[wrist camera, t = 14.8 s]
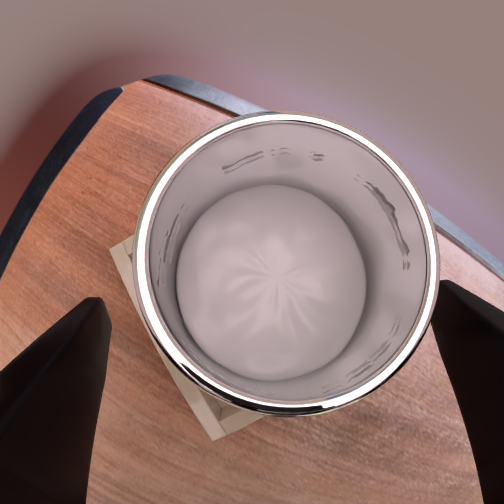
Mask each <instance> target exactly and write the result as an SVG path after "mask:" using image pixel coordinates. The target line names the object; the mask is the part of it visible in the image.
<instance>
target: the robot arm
mask: <svg viewBox="0 0 504 504" xmlns="http://www.w3.org/2000/svg"><path fill="white" fill-rule="evenodd" d="M430 322H431V325H432V329H433V332H434V335H435V338H436V342H437V345H438V348H439V352H440V355H441V357H442V360H443V363H444V365H445V368H446V371H447V373H448V376H449V379H450V382H451V384H452V387H453V390H454V393H455V396H456V399H457V402H458V405H459V408H460V411H461V414H462V417H463V420H464V424H465V427H466V430H467V434H468V437H469V441H470V444H471V448H472V452H473V456H474V460H475V464H476V468H477V471H478V477H479V482H480V487H481V492H482V497H483V502H484V504H504V312H503V311H501V310H500V309H498V308H496V307H495V306H493V305H491V304H490V303H488V302H486V301H485V300H483V299H481V298H480V297H478V296H476V295H474V294H473V293H471V292H469V291H468V290H466V289H464V288H462V287H461V286H459V285H457V284H455V283H454V282H452V281H450V280H440V282H439V290H438V296H437V301H436V305H435V309H434V312H433V315H432V318H431V321H430ZM111 330H112V325H111V320H110V317H109V314H108V312H107V309H106V306H105V303H104V301H103V300H102V298H100V297H88V298H86V299H84V300H83V301H82V302H81V303H79V304H78V305H77V306H76V307H74V308H73V309H72V310H71V311H70V312H68V313H67V314H66V315H65V316H63V317H62V318H61V319H60V320H59V321H57V322H56V323H55V324H54V325H53V326H52V327H50V328H49V329H48V330H47V331H46V332H44V333H43V334H42V335H41V336H40V337H39V338H37V339H36V340H35V341H34V342H33V343H32V344H30V345H29V346H28V347H27V348H26V349H25V350H24V351H22V352H21V353H20V354H19V355H18V356H17V357H16V358H15V359H13V360H12V361H11V362H10V363H9V364H8V365H7V366H6V367H5V368H3V369H2V370H1V371H0V504H86V496H87V487H88V478H89V470H90V462H91V455H92V448H93V442H94V436H95V430H96V424H97V419H98V413H99V408H100V403H101V398H102V393H103V388H104V383H105V377H106V370H107V361H108V352H109V344H110V337H111Z"/></svg>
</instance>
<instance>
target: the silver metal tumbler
mask: <svg viewBox="0 0 504 504" xmlns="http://www.w3.org/2000/svg"><path fill="white" fill-rule="evenodd" d="M132 271H133V280H134V287H135V291H136V296H137V300H138V303H139V307H140V310H141V313H142V315H143V318H144V320H145V322H146V325H147V327H148V329H149V331H150V333H151V335H152V336H153V338H154V340H155V341H156V343H157V345H158V346H159V348H160V349H161V350H162V352H163V353H164V354H165V356H166V357H167V358H168V360H169V361H170V362H171V363H172V364H173V365H174V366H175V367H176V369H177V370H178V371H179V372H180V373H182V374H183V375H184V376H185V377H186V378H187V379H188V380H189V381H191V382H192V383H193V384H194V385H196V386H197V387H198V388H200V389H201V390H203V391H204V392H206V393H207V394H209V395H211V396H212V397H214V398H216V399H218V400H220V401H222V402H224V403H226V404H228V405H231V406H233V407H236V408H239V409H242V410H245V411H248V412H252V413H256V414H261V415H266V416H274V417H307V416H314V415H320V414H325V413H329V412H333V411H336V410H339V409H342V408H344V407H347V406H349V405H352V404H354V403H356V402H358V401H360V400H362V399H364V398H366V397H367V396H369V395H371V394H372V393H374V392H375V391H377V390H378V389H379V388H381V387H382V386H383V385H385V384H386V383H387V382H388V381H389V380H391V379H392V378H393V377H394V376H395V375H396V374H397V373H398V372H399V371H400V370H401V369H402V367H403V366H404V365H405V364H406V363H407V362H408V360H409V359H410V358H411V356H412V355H413V354H414V352H415V351H416V349H417V348H418V346H419V344H420V342H421V341H422V339H423V337H424V335H425V333H426V331H427V328H428V326H429V324H430V321H431V318H432V315H433V312H434V309H435V305H436V301H437V296H438V290H439V282H440V254H439V245H438V240H437V235H436V230H435V227H434V223H433V220H432V217H431V214H430V212H429V209H428V207H427V204H426V202H425V200H424V198H423V196H422V194H421V192H420V191H419V189H418V187H417V185H416V184H415V182H414V181H413V179H412V178H411V177H410V175H409V174H408V173H407V172H406V170H405V169H404V168H403V166H402V165H401V164H400V163H399V162H398V161H397V160H396V159H395V158H394V157H393V156H392V155H391V154H390V153H389V152H388V151H387V150H386V149H385V148H383V147H382V146H381V145H380V144H379V143H377V142H376V141H375V140H373V139H372V138H370V137H369V136H367V135H366V134H364V133H362V132H361V131H359V130H357V129H355V128H353V127H351V126H349V125H347V124H345V123H342V122H340V121H338V120H334V119H332V118H329V117H326V116H322V115H318V114H313V113H308V112H301V111H291V110H275V111H262V112H256V113H251V114H246V115H242V116H239V117H235V118H232V119H230V120H227V121H224V122H222V123H220V124H217V125H215V126H213V127H211V128H210V129H208V130H206V131H204V132H203V133H201V134H199V135H198V136H196V137H195V138H194V139H192V140H191V141H190V142H188V143H187V144H186V145H185V146H183V147H182V148H181V149H180V150H179V151H178V152H177V153H176V154H175V155H174V156H173V157H172V158H171V159H170V160H169V161H168V162H167V164H166V165H165V166H164V167H163V169H162V170H161V171H160V173H159V174H158V176H157V177H156V179H155V180H154V182H153V184H152V185H151V187H150V189H149V191H148V193H147V195H146V197H145V199H144V202H143V204H142V207H141V210H140V213H139V216H138V219H137V223H136V227H135V232H134V238H133V248H132Z"/></svg>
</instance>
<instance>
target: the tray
mask: <svg viewBox="0 0 504 504" xmlns="http://www.w3.org/2000/svg"><path fill="white" fill-rule="evenodd" d="M133 238H134V235H132V236H130V237H129V238H127V239H125V240H123V242H120V243H119V244H117V245H115V246H113V247H112V248H110V249H109V251H110V253H111V255H112V258H113V260H114V262H115V265H116V267H117V269H118V272H119V274H120V276H121V278H122V281H123V283H124V285H125V287H126V289H127V291H128V294H129V296H130V298H131V300H132V302H133V304H134V306H135V308H136V310H137V312H138V314H139V316H140V318H141V320H142V322H143V324H144V326H145V328H146V330H147V332H148V334H149V336H150V338H151V340H152V342H153V344H154V346H155V347H156V349H157V351H158V353H159V355H160V357H161V358H162V360H163V362H164V364H165V366H166V367H167V369H168V371H169V373H170V374H171V376H172V378H173V380H174V381H175V383H176V385H177V386H178V388H179V390H180V391H181V393H182V395H183V396H184V398H185V400H186V401H187V403H188V405H189V406H190V408H191V409H192V411H193V413H194V414H195V416H196V417H197V419H198V420H199V422H200V423H201V425H202V427H203V428H204V430H205V431H206V433H207V434H208V436H209V437H210V439H211V440H212V441H216V440H218V439H220V438H222V437H224V436H227V434H228V435H229V434H231V433H233V432H235V431H237V430H239V429H241V428H243V427H245V426H247V425H249V424H251V423H253V422H255V421H257V420H259V419H260V418H262V417H264V416H266V415H261V414H256V413H252V412H248V411H245V410H242V409H239V408H236V407H233V406H231V405H228V404H226V403H224V402H222V401H220V400H218V399H216V398H214V397H212V396H211V395H209V394H207V393H206V392H204V391H203V390H201V389H200V388H198V387H197V386H196V385H194V384H193V383H192V382H191V381H189V380H188V379H187V378H186V377H185V376H184V375H183V374H182V373H180V372H179V371H178V370H177V369H176V367H175V366H174V365H173V364H172V363H171V362H170V361H169V360H168V358H167V357H166V356H165V354H164V353H163V352H162V350H161V349H160V348H159V346H158V345H157V343H156V341H155V340H154V338H153V336H152V335H151V333H150V331H149V329H148V327H147V325H146V322H145V320H144V318H143V315H142V313H141V310H140V307H139V303H138V300H137V296H136V291H135V287H134V280H133V271H132V248H133Z"/></svg>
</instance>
